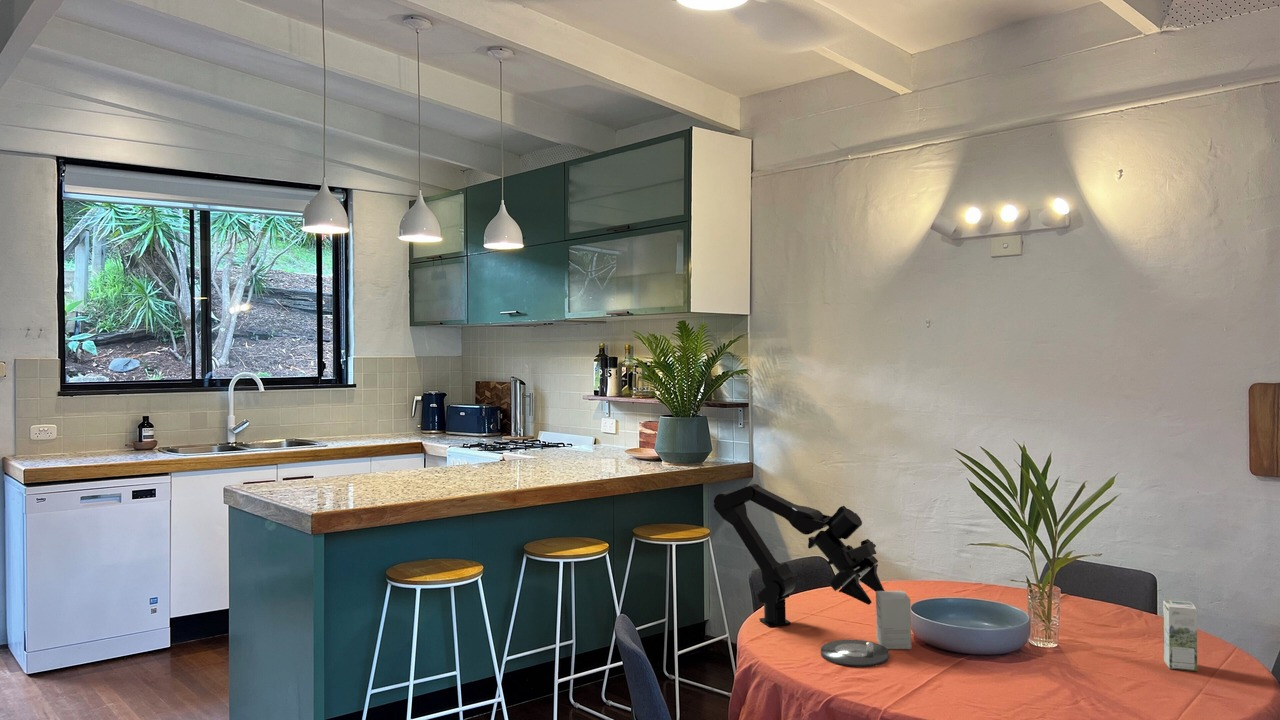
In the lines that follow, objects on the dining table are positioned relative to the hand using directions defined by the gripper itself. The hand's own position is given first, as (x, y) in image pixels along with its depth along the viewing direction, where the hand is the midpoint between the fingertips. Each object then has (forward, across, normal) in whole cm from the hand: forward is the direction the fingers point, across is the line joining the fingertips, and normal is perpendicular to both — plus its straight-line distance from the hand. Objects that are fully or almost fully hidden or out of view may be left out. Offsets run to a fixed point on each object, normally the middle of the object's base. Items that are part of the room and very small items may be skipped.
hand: (877, 599), depth 226 cm
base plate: (+7, -12, +8) cm, 16 cm away
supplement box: (+11, 0, +5) cm, 12 cm away
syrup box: (+53, +20, -37) cm, 68 cm away
